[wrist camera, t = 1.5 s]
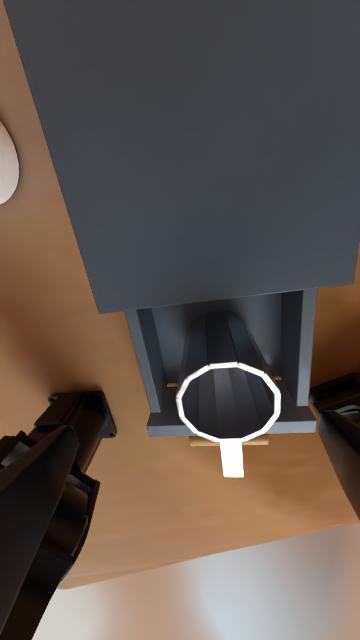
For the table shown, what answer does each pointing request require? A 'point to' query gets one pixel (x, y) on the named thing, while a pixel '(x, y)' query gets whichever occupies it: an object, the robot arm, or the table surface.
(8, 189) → the can
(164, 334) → the drawer
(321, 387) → the end cap
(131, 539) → the table surface
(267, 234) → the cabinet
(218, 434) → the measuring cup
